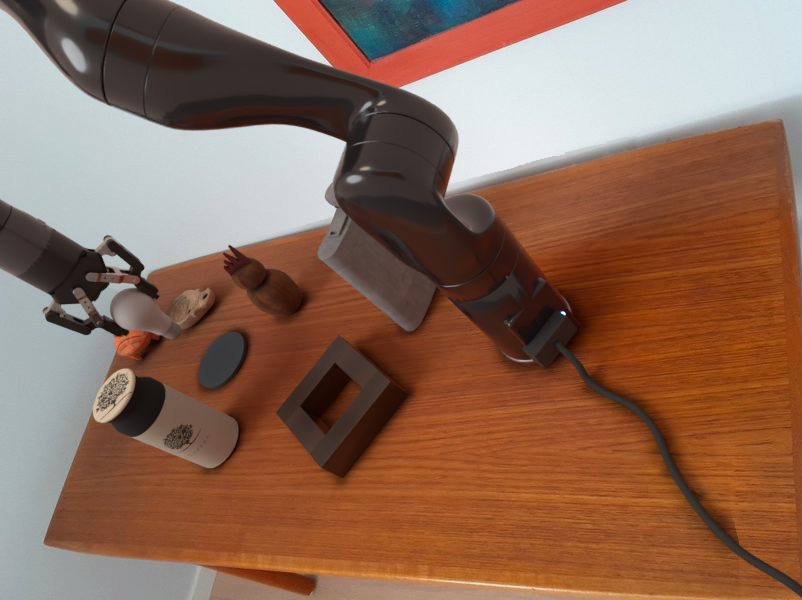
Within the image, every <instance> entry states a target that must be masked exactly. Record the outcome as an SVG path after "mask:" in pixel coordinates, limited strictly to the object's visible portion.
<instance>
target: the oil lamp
mask: <svg viewBox="0 0 802 600" xmlns="http://www.w3.org/2000/svg"><path fill="white" fill-rule="evenodd" d="M215 301H216V297H215V294H214V292H213V291H212V289H210V288H209V287H206V289H205V290H204V291H202V290H201V288H199V287H198V288H196V289H187V290H185V291H183V292H181V293H180V294H179V295H177V297H175V298H174V300H172V302H171V304H170V305H169V306H168V308H167V309H164V308H160V309H161V311H162V312H163V313H165V314H166V315H167V316H169V317H170V318H171V320H172V321H174V322H175V323H177V324H178V325H180V326H181V330H186V329H189V328H191V327H193V326H194V325H195V324H196V323H198V322H199V321H200V320H201V319H202V318H203V317H204V316H205V314H207V313H208V311H210V309H211V308H212V307H213V306H214V304H215Z"/></svg>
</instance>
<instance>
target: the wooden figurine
mask: <svg viewBox="0 0 802 600" xmlns="http://www.w3.org/2000/svg"><path fill="white" fill-rule="evenodd" d="M227 247H228V249H229V250H230V252H232V254H233V255H234V256H232V255H231V254H229V253H226V252H222V255H223V256H224V257H225V258H226V259H223V263H224V264H225V265H223V269H224V270H225V271H226V273H227V274H229V276H230V277H231V280H232V281H233V282H234V284H235V285H236V286H237V287H238V288H240V289H242V290H244V291H246V296H247V298H249V301H250V302H251V303H252V304H253V305H254V306H255V307H256V308H257V309H258V310H260V311H261V312H264V313H266V314H269V315H274V316H277V317H286V316H290V315H292V314H294V313H295V312H296V311H297V310H298V309H299V308H300V307H301V305H302V301H303V295H302V291H301V289H300V287H299V286H298V284H297V283H296V282H295V281H294V279H293V278H292V277H291V276H290V275H289V274H287V273H286V272H284V271H283V270H281V269H277V268H266V267H265V266H264V264H263V263H262V262H260V261H259V260H258V259H256V258H253V257H248V256H246V255H245V254H243V253H242V252H241V251H239V250H238V249H237V248H235V247H234V246H232V245H231V244H228V245H227Z"/></svg>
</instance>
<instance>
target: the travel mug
mask: <svg viewBox="0 0 802 600" xmlns="http://www.w3.org/2000/svg"><path fill="white" fill-rule="evenodd" d="M92 415H93V418H94V420H95V422H98V423H100V424H105V423H108V424H111V425H112V427H113V429H114V430H115V431H116V432H117V433H120V434H122V435H124V436H126V437H129V438H132V439H134V440H137V441H139V442H141V443H144V444H146V445H149V446H152V447H154V448H156V449H159V450H161V451H163V452H166V453H169V454H171V455H174V456H176V457H178V458H182V459H183V460H186V461H188V462H191V463H193V464H196V465H198V466H201V467H204V468H206V469H214V468H216V467H218V466H220V465H221V464H222V463H224V462H225V461H226V460H227V459H228V458H229V457H230V456H231V454H232V452H233V451H234V448H235V447H236V444H237V441H238V439H239V424H238V421H237V420H236V418H234V417H232V416H231V415H228V414H226V413H224V412H222V411H220V410H218V409H216V408H214V407H212V406H210V405H208V404H206V403H204V402H202V401H200V400H197V399H196V398H193V396H192V397H191V396H189V395H188V394H185V393H183V392H181V391H180V390H177V389H175V388H173V387H171V386H169V385H167V384H166V383H163V382H161V381H159V380H157V379H155V378H153V377H151V376H137V375H136V374H135V372H134V371H133V370H132V369H131V368H128V367H127V368H125V367H124V368H121V369H118V370H117V371H115V372H114V373H112V374H111V375H110V376H109V377H108V378H107V379H106V380H105V381H104V383H103V384H102V386H101V387H100V389H99V390H98V392H97V394H96V397H95V399H94V403H93V406H92Z"/></svg>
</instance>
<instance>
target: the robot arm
mask: <svg viewBox="0 0 802 600" xmlns="http://www.w3.org/2000/svg"><path fill="white" fill-rule="evenodd" d="M0 10H1V11H3V12H5V13H6V14H7V15H8V16H10V17H11V18H12V19H13V20H15V22H16V23H18V24H19V25H20V27H21V28H22V30H24V31H25V32H26V33H27V34H28V36H29V37H30V38H31V39H32V41H33V42H34V43H35V44H36V45H37V47H38V48H39V49H40V50H41V51H42V53H43V54H44V55H45V57H47V58H48V60H49V61H50V62H51V63H52V64H53V65H54V66H55V67H56V69H57V70H58V71H59V72H60V73H61V74H62V75H63V76H64V77H65V78H66V79H67V80H68V81H69V82H70V83H71V84H72V85H73V86H74V87H76V88H77V89H78V90H79V91H81V92H82V93H83V94H84V95H86V96H87V97H89V98H91V99H93V100H95V101H97V102H99V103H102V104H103V105H107V106H109V107H112V108H114V109H116V110H119V111H121V112H124V113H127V114H129V115H131V116H134V117H137V118H140V119H142V120H145V121H147V122H150V123H152V124H155V125H158V126H160V127H163V128H166V129H170V130H176V131H191V132H202V131H203V132H205V131H208V132H209V131H221V130H231V129H240V128H241V129H242V128H248V127H257V126H258V127H259V126H273V125H274V126H290V127H297V128H302V129H307V130H310V131H313V132H316V133H320V134H323V135H326V136H329V137H332V138H335V139H337V140H340V141H342V142H345V145H344V147H343V150H342V153H341V155H340V159H339V160H338V164H337V166H336V169H335V172H334V175H333V178H332V182H331V183H332V190H333V194H334V197H335V199H336V201H337V203H338V205H339V206H340V208H341V209H342V210H343V212H344V213H345V214H346V215H347V216H348V217H349V218H350V219H351V220H352V221H353V222H354V223H355V224H356V225H358V226H359V227H360V228H361V229H362V230H363V231H365V232H366V233H367V234H368V235H369V236H371V237H372V238H373V239H374V240H376V241H377V242H378V243H379V244H380V245H382V246H383V247H384V248H385V249H386V250H387V251H389V252H390V253H391V254H392V255H393V256H394V257H396V258H397V259H398V260H399V261H401V262H402V263H403V264H405V265H407V266H408V267H410V268H412V269H414V270H416V271H418V272H420V273H422V274H423V275H425V276H426V277H427V278H428V279H429V280H430V281H431V282H432V283H433V284H434V285H435V286H436V288H437V289H438V290H439V291H440V292H441V294H443V295H444V296H445V297H446V298H447V299H448V300H449V301H450V302H451V303H452V304H453V305H454V306H455V307H456V308H457V309H458V310H459V311H460V312H461V313H462V314H463V315H464V316H465V317H467V319H468V320H469V321H470V322H472V324H474V325H475V326H476V327H477V328H478V329H479V331H481V332H482V333H483V335H485V336H486V337H487V338H488V339H489V340H490V342H492V343H493V344H494V345H495V346H496V347H497V348H498V349H499V350H500V352H501V353H502V354H503V355H504V356H505V357H506V358H507V359H508V360H510V361H512V362H513V363H514V364H519V365H523V366H532V365H534V366H535V365H539V366H540V367H542V368H544V369H545V370H548V369H549V367H550V366H551V365H552V363H553V362H554V361H555V359H557V357H558V356H559V355H560V353H561V354H562V355H563V356H564V357H565V358H566V359H567V360H568V361H569V362H570V363H571V364H572V365H573V367H574V368H575V369H576V371H577V372H578V374H579V376H580V378H581V379H582V380H583V382H584V383H585V384H586V385H587V386H588V387H590V388H591V389H592V390H593V391H595V392H596V393H598V394H599V395H601V396H603V397H604V398H606V399H608V400H611V401H613V402H615V403H618V404H620V405H622V406H624V407H626V408H628V409H629V410H631V411H632V412H633V413H635V414H636V415H637V416H638V417H639V418H640V419H641V420H642V421H643V422H644V423H645V425H646V426H647V427H648V429H649V431H650V433H651V434H652V436H653V438H654V441H655V443H656V445H657V448H658V449H659V453H660V456H661V457H662V460H663V462H664V464H665V467H666V468H667V471H668V472H669V474H670V476H671V478H672V479H673V481H674V482H675V484H676V485H677V487H678V489H679V490H680V492H682V494H683V496H684V498H685V499H686V500H687V502H688V503H689V504H690V506H691V508H692V509H693V510H694V511H695V513H696V514H697V515H698V517H699V518H700V519H701V520H702V521H703V523H704V524H705V525H706V526H707V527H708V529H709V530H710V531H711V532H712V533H713V534H714V535H715V536H716V537H717V538H718V539H719V540H720V541H721V542H722V543H723V544H724V545H726V546H727V548H729V549H730V550H731V551H732V552H733V553H734V554H736V555H737V557H739V558H741V560H743V561H744V562H746V563H747V564H748V565H751V566H752V567H754V568H755V569H757V570H759V571H760V572H762V573H764V574H766V575H767V576H769V577H771V578H772V579H774V580H776V581H778V583H781V584H782V585H784V586H786V588H788V589H789V590H791V591H792V592H794V594H796V595H797V596H799V597H800V598H801V599H802V584H800V583H799V582H798V581H797V580H795V579H794V578H792V577H791V576H789V575H788V574H786V573H784V572H783V571H781V570H779V569H777V568H776V567H774V566H772V565H771V564H769V563H768V562H766V561H764V560H762V559H760V558H759V557H757V556H756V555H754V554H752V553H751V552H749V551H748V550H747V549H745V548H744V547H743V546H742V545H740V544H739V543H738V542H737V541H735V539H734V538H732V537H731V535H729V533H727V531H725V530H724V529H723V528H722V527H721V526H720V525H719V523H717V522H716V521H715V519H713V517H712V516H711V515H710V514H709V512H708V511H707V510H706V509H705V507H704V506H703V505H702V503H701V502H700V500H698V498H697V497H696V495H695V494H694V492H693V491H692V490H691V488H690V487H689V485H688V484H687V482H686V481H685V480H684V478H683V477H682V475H681V473H680V471H679V469H678V468H677V466H676V464H675V463H674V460H673V458H672V455H671V453H670V451H669V448H668V446H667V444H666V441H665V439H664V437H663V435H662V432H661V431H660V429H659V427H658V425H657V424H656V423H655V421H654V420H653V418H652V417H651V416H650V414H649V413H647V412H646V411H645V410H644V408H642V407H641V406H639V404H637V403H635V402H634V401H633V400H630V399H628V398H626V397H625V396H621V395H619V394H617V393H616V392H615V393H614V392H612V391H610V390H608V389H606V388H605V387H603V386H602V385H600V384H599V383H597V382H596V381H595V380H594V379H593V378H592V377H591V376H590V375H589V374H588V372H587V370H586V369H585V367H584V365H583V364H582V362H581V361H580V360H579V359H578V358H577V357H576V355H574V354H573V353H572V352H571V350H570V349H568V347H566V346H567V344H568V343H569V342H570V341H571V339H573V337H574V335H575V334H576V333H577V332H578V329H579V327H580V326H581V323H580V321H578V319H577V318H576V317H575V316H574V311H573V309H572V306H571V305H570V304H569V302H568V301H567V300H566V298H565V297H564V296H563V295H562V294H561V293H560V292H559V290H558V289H557V288H556V286H555V285H554V284H553V283H552V282H551V280H550V279H549V277H547V275H546V274H545V273H544V271H543V270H542V269H541V268H540V266H539V265H538V264H537V263H536V261H535V259H533V257H532V255H530V253H529V252H528V251H527V250H526V248H525V247H524V245H522V243H521V242H520V241H519V239H518V238H517V237H516V235H515V234H514V232H513V231H512V230H511V229H510V228H509V226H508V225H507V223H506V222H505V220H504V219H503V218H502V217H501V216H500V214H499V213H498V212H497V210H496V209H495V208H494V207H493V205H492V204H491V203H490V202H489V201H488V200H487V199H486V198H484V197H483V196H480V195H478V194H474V193H467V192H466V193H457V194H453V195H451V196H448V197H446V198H445V196H446V193H447V190H448V186H449V184H450V180H451V176H452V173H453V169H454V165H455V161H456V158H457V155H458V154H457V153H458V149H459V143H460V136H459V132H458V129H457V127H456V124H455V123H454V121H453V120H452V118H451V117H450V116H449V114H447V113H446V112H445V111H444V110H443V109H442V108H440V107H439V106H437V105H436V104H434V103H433V102H431V101H429V100H427V99H425V98H424V97H422V96H420V95H418V94H415V93H413V92H410V91H409V90H406V89H403V88H401V87H397V86H395V85H392V84H388V83H385V82H383V81H379V80H376V79H372V78H370V77H366V76H365V75H360V74H357V73H354V72H351V71H347V70H344V69H341V68H338V67H335V66H332V65H329V64H325V63H322V62H319V61H316V60H313V59H310V58H307V57H304V56H303V55H299V54H296V53H294V52H291V51H289V50H286V49H284V48H282V47H278V46H276V45H274V44H271V43H268V42H266V41H264V40H261V39H259V38H256V37H253V36H252V35H248V34H246V33H244V32H241V31H238V30H236V29H233V28H231V27H229V26H226V25H224V24H222V23H220V22H217V21H215V20H213V19H211V18H209V17H206V16H204V15H202V14H200V13H199V12H196V11H194V10H192V9H189V8H188V7H185V6H183V5H180V4H178V3H176V2H174V1H171V0H0ZM102 241H103V242H101V243H100V244H99V245H98V246H97V247H96V248H95V249H94V248H88V247H84V246H83V245H81V244H80V243H78V242H76V241H74V240H73V239H71V238H70V237H68V236H67V235H64V234H63V233H61V232H59V231H58V230H56V229H55V228H53V227H52V226H50V225H48V224H47V223H46V222H45V221H43V220H41V219H40V218H36V217H35V216H33V215H32V214H30V213H29V212H26V211H24V210H22V209H19V208H18V207H15V206H13V205H11V204H10V203H8V202H7V201H5V200H4V199H2V198H0V270H2V271H3V272H6V273H8V274H10V275H11V276H13V277H15V278H17V279H19V280H21V281H23V282H24V283H27V284H29V285H30V286H32V287H34V288H36V289H38V290H40V291H41V292H44V293H45V294H48V295H49V296H50V297H51V298H52V300H51V302H50V303H49V305H48V306H45V307H44V308H43V309H42V314H43V317H44V319H45V321H46V322H48V323H50V324H53V325H56V326H59V327H61V328H64V329H67V330H69V331H72V332H75V333H78V334H81V335H83V336H89V335H90V334H91V333H92V331H94V330H96V329H102V330H104V331H106V332H108V333H109V334H111V335H113V336H114V335H115V336H118V337H121V336H122V335H124V336H127V335H128V334H129V333H130V332H129V330H127V329H123V328H122V327H120V326H119V325H117V324H116V323H115V322H114V320H113V318H112V317H109V316H107V315H105V314H103V315H101V313H100V312H99V311H98V309H97V308H96V306H95V305H94V303H93V302H96V301H97V300H98V299H99V298H100V295H101V294H102V292H103V291H105V290H106V289H107V288H108V287H109V286H110V284H119V285H120V284H130V285H133V286H134V288H138V289H140V290H141V291H143V292H145V293H146V294H148V295H150V296H151V297H153V298H154V300H158V299H159V298H160V297H161V295H160V293H159V291H160V290H159V289H158V287H157V286H156V285H155V284H154V283H153V282H151V281H150V280H148V279H146V278H145V277H143V276H142V272H143V271H144V270H145V268H146V267H145V265H144V264H143V262H141V260H140V259H139V257H137V256H136V255H135V254H133V252H131V251H130V250H129V249H128V248H126V247H125V246H124V245H123V244H121V242H119V241H118V240H116V238H115V237H113V236H112V235H109V234H106V235H104V236H103V239H102ZM105 255H107V256H109V257H115V256H118V257H119V258H120V259H121V260H122V261H124V262H125V263H126V264H128V265H129V268H128V269H127V268H119V267H117V266H112V265H106V262H105V259H104V258H103V257H104V256H105ZM62 305H63V306H65V305H81V308H83V310H84V312H85V313H86V315H87V316H88V317H86V319H82V318H80V317H77V316H74V315H72V314H69V313H67V311H66V309H65V308H64V307H62Z"/></svg>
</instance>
